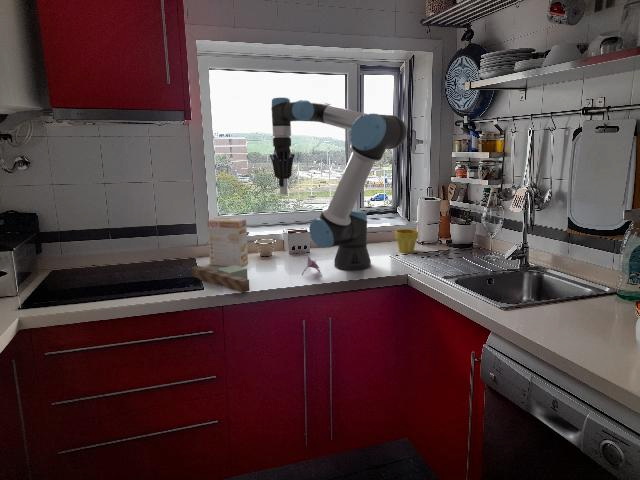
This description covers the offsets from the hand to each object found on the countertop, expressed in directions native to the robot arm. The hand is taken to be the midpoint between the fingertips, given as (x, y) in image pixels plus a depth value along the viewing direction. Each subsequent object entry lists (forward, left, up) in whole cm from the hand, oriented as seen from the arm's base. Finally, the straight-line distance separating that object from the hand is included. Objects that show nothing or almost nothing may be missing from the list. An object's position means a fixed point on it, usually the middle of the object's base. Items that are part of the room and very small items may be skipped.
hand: (283, 194), depth 190 cm
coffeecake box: (+15, +19, -29) cm, 38 cm away
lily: (-23, +8, -29) cm, 38 cm away
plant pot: (-33, -47, -29) cm, 65 cm away
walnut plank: (-4, +39, -29) cm, 48 cm away
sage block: (-4, +32, -29) cm, 44 cm away
